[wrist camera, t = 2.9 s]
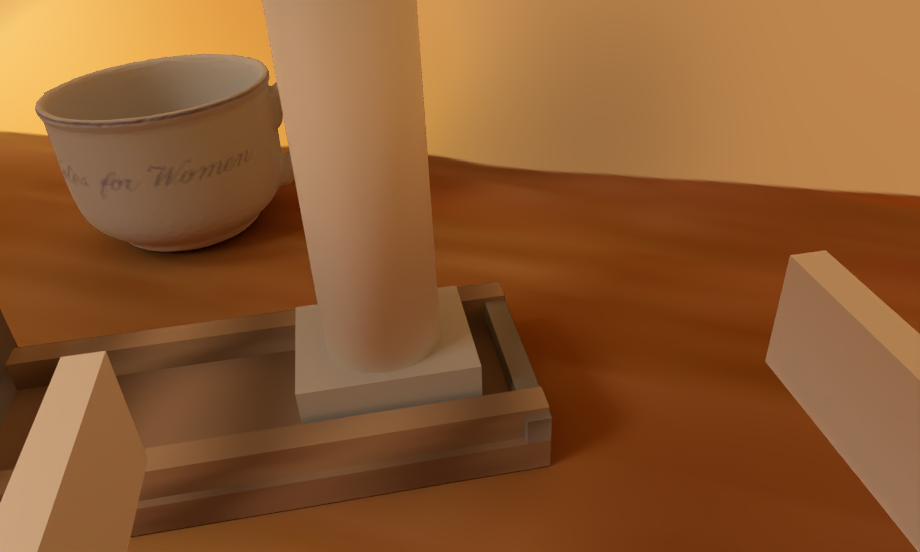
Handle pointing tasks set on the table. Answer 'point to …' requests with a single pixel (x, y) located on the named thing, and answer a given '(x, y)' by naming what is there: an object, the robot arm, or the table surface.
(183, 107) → the teacup
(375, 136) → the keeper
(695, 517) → the table surface
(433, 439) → the track
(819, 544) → the table surface
